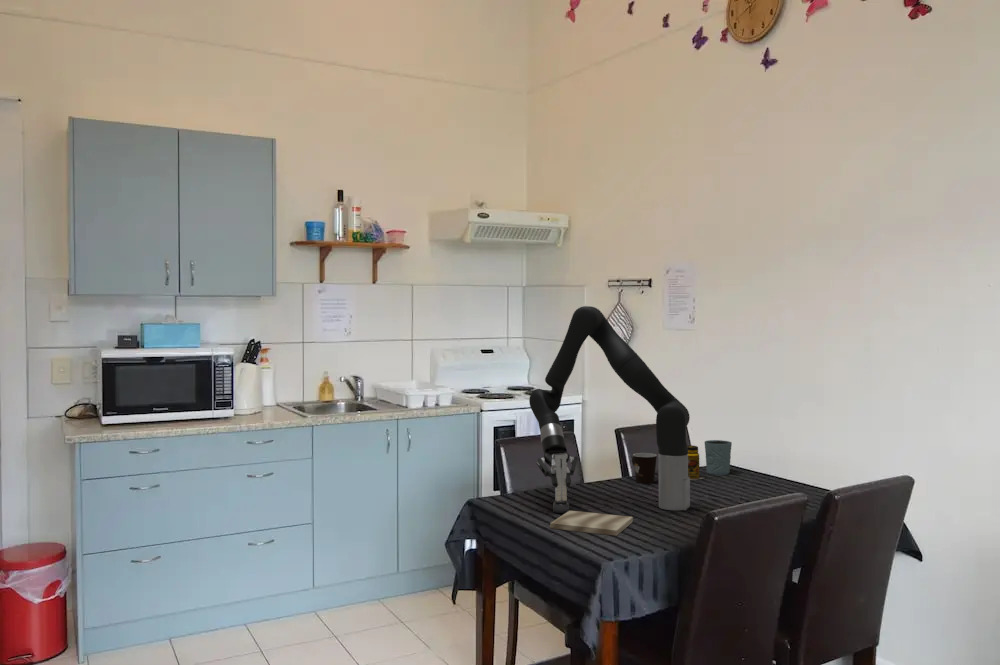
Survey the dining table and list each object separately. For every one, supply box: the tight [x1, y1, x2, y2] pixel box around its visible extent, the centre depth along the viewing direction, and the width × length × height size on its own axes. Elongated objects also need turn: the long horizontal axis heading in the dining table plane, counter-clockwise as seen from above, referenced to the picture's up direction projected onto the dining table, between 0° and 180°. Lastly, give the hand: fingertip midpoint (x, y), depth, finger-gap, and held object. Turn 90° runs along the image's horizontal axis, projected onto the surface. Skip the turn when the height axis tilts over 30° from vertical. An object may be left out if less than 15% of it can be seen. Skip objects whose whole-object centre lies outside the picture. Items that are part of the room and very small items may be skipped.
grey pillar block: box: [552, 453, 570, 514], centre depth 250 cm, size 5×5×18 cm
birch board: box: [549, 510, 634, 536], centre depth 235 cm, size 20×16×2 cm
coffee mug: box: [631, 452, 658, 485], centre depth 294 cm, size 12×9×10 cm
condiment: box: [687, 444, 704, 481], centre depth 300 cm, size 7×8×12 cm
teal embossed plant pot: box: [704, 439, 732, 476], centre depth 308 cm, size 10×10×12 cm
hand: (562, 485), depth 248 cm, fingers closed on grey pillar block, 3 cm apart
